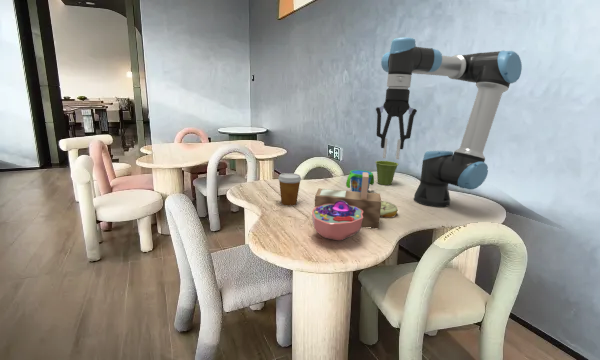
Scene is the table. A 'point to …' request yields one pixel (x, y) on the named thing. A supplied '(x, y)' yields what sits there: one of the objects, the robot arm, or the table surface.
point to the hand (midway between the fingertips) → (390, 157)
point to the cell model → (337, 220)
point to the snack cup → (358, 180)
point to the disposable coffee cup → (289, 188)
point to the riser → (353, 203)
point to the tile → (364, 185)
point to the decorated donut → (388, 209)
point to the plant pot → (385, 172)
